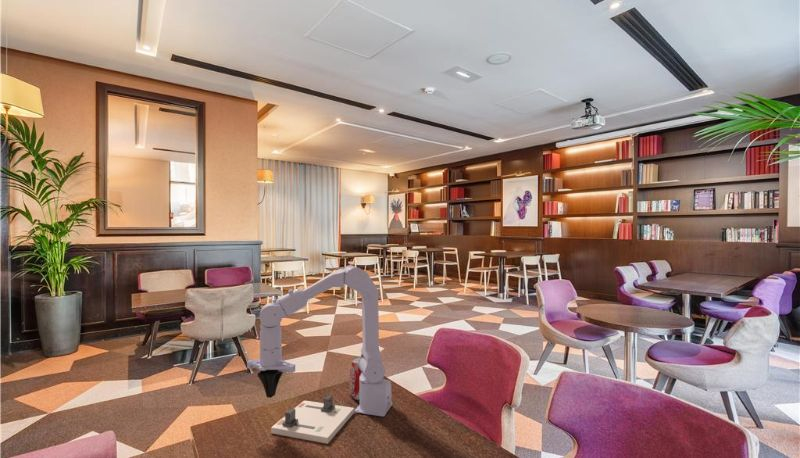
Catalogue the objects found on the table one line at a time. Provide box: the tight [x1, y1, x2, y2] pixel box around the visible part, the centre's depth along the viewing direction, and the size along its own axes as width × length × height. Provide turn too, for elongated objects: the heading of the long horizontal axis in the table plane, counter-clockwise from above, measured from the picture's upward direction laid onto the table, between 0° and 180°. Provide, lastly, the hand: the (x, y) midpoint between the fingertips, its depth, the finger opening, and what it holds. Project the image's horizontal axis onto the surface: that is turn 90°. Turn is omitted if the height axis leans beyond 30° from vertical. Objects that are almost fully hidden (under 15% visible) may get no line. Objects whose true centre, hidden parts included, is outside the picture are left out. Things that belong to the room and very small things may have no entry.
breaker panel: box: [270, 400, 355, 445], centre depth 99 cm, size 17×16×2 cm
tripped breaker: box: [282, 407, 298, 427], centre depth 95 cm, size 3×3×3 cm
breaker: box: [321, 394, 335, 412], centre depth 103 cm, size 3×3×3 cm
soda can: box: [349, 356, 362, 401], centre depth 115 cm, size 7×7×12 cm
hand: (270, 396), depth 97 cm, fingers closed
